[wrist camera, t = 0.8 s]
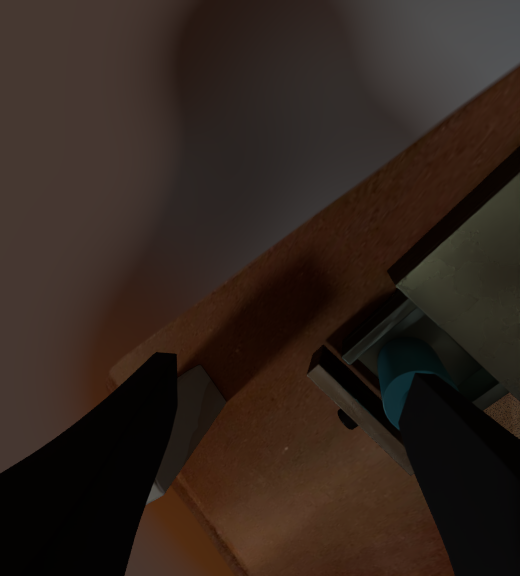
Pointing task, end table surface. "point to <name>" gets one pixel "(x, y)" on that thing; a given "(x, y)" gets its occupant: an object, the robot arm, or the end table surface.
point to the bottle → (405, 371)
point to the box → (188, 425)
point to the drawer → (360, 398)
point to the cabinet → (474, 274)
